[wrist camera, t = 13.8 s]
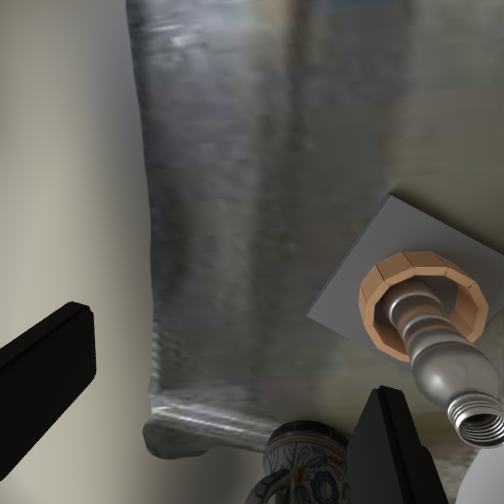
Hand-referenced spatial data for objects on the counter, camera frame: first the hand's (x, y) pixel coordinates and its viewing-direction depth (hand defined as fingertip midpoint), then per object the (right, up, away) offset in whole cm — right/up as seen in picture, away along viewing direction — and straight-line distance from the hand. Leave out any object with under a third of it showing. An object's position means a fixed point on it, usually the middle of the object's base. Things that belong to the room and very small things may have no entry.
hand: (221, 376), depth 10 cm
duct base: (+22, -1, +32) cm, 39 cm away
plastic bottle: (+22, -2, +30) cm, 37 cm away
